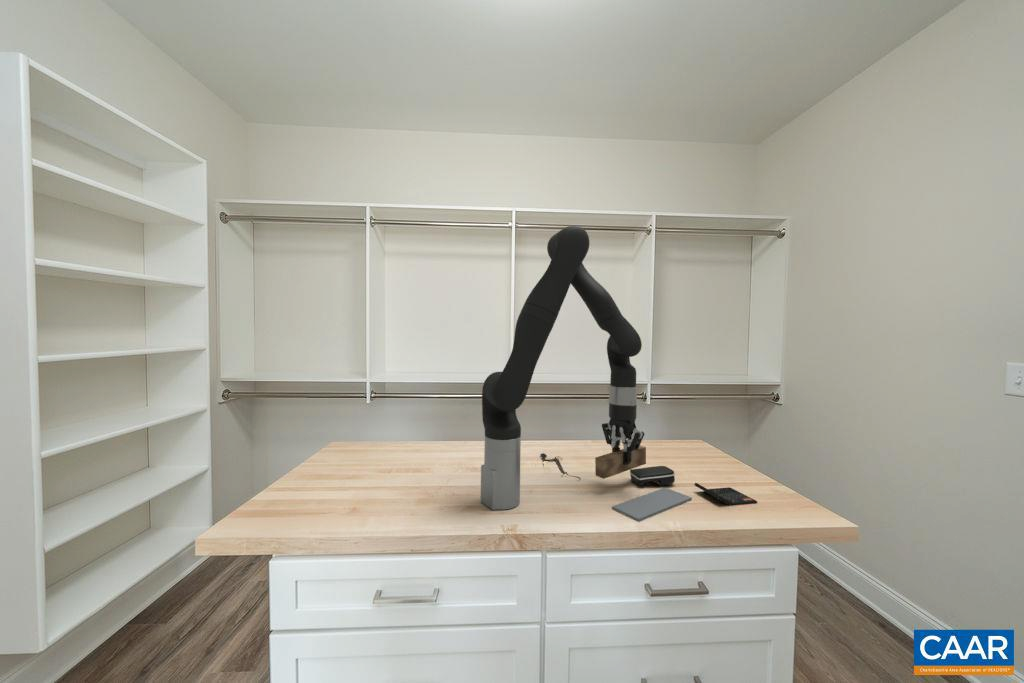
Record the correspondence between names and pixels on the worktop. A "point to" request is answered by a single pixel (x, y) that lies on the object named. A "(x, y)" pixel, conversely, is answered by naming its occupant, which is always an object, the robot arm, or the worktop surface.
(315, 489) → the worktop surface
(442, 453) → the worktop surface
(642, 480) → the black striped rounded block
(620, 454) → the wooden block
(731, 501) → the calculator
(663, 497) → the mat
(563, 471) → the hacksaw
